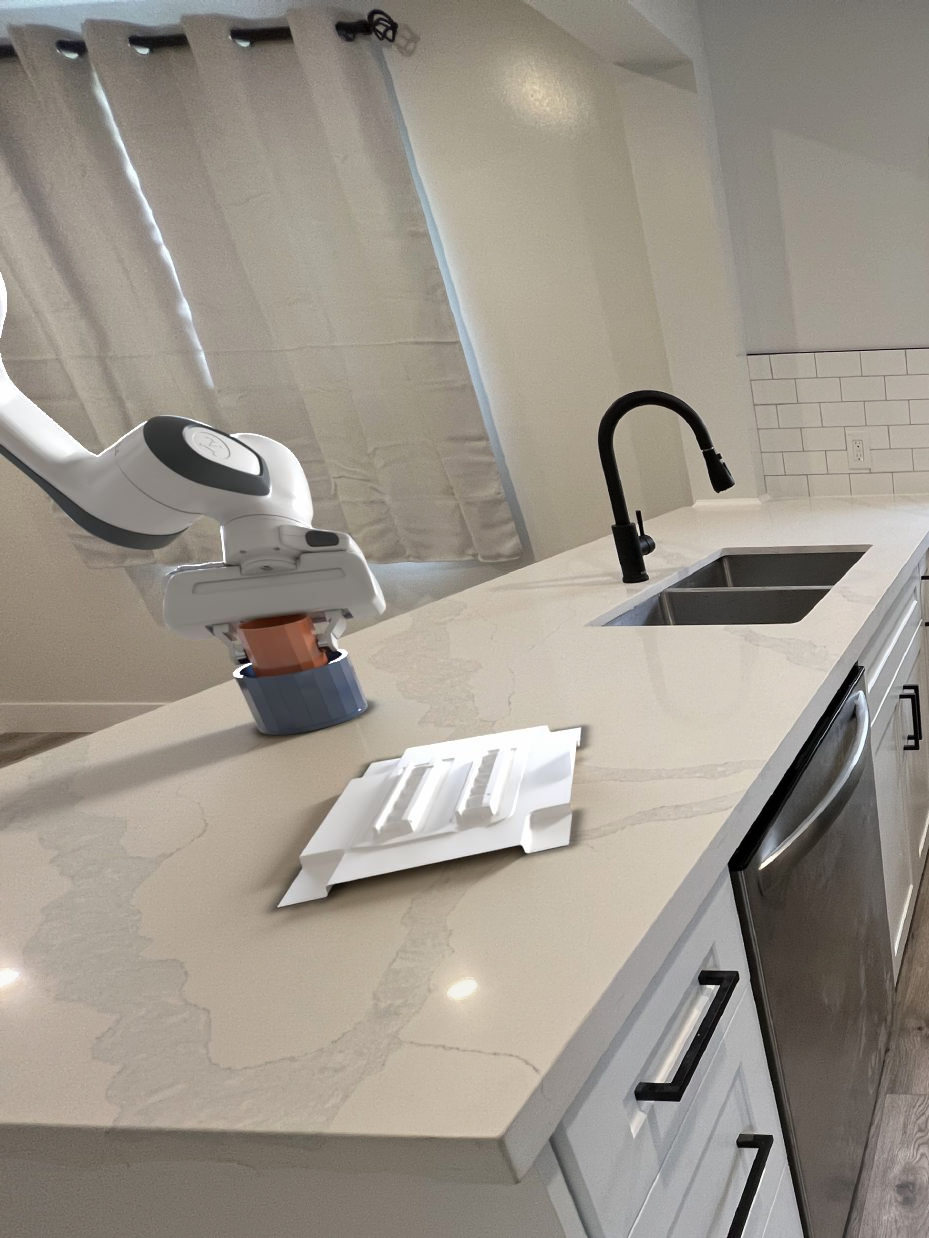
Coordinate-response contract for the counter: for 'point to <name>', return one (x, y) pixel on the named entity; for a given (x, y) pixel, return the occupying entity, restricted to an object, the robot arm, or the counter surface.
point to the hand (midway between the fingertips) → (286, 655)
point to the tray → (444, 807)
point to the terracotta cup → (281, 644)
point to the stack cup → (303, 696)
